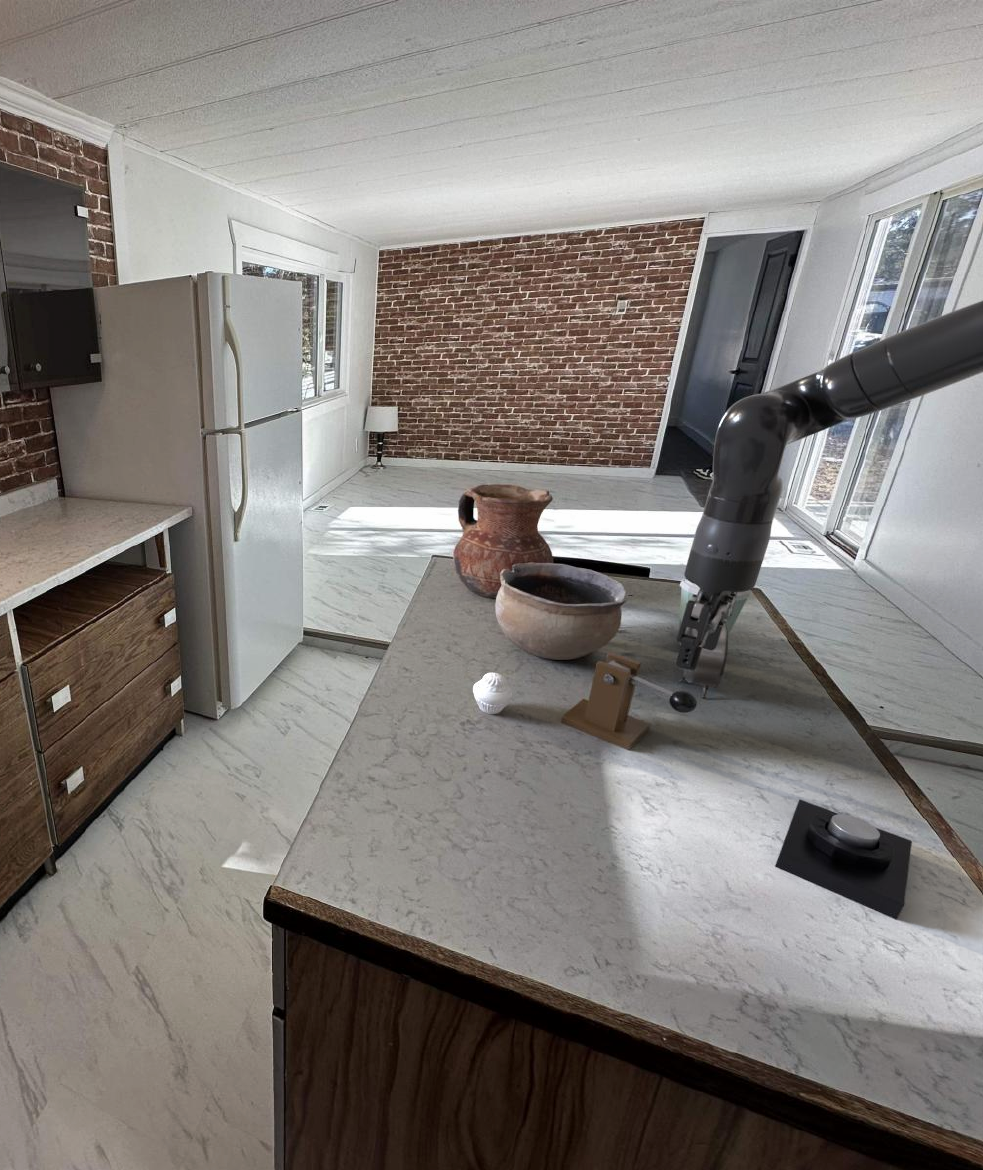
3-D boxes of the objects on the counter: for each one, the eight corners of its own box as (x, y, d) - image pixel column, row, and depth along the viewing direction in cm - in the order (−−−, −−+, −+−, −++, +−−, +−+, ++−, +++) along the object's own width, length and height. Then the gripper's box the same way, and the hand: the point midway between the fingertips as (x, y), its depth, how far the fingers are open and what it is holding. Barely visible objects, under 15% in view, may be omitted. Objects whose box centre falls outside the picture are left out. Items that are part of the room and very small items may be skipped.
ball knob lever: (694, 711, 91) (703, 694, 90) (687, 720, 90) (696, 702, 88) (607, 673, 100) (614, 656, 98) (599, 680, 98) (606, 663, 96)
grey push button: (829, 820, 76) (834, 809, 75) (876, 838, 73) (881, 826, 72) (824, 837, 73) (829, 826, 72) (872, 856, 70) (878, 844, 70)
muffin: (488, 696, 110) (493, 661, 108) (517, 713, 105) (523, 677, 103) (462, 705, 108) (467, 670, 105) (491, 723, 103) (497, 687, 100)
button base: (794, 812, 82) (803, 787, 80) (905, 854, 75) (917, 829, 73) (774, 866, 74) (785, 840, 72) (896, 920, 67) (910, 892, 65)
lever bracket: (648, 729, 99) (666, 665, 95) (628, 750, 95) (646, 683, 90) (582, 704, 107) (595, 643, 102) (560, 722, 102) (573, 659, 98)
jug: (545, 579, 158) (561, 482, 148) (550, 612, 140) (569, 504, 131) (452, 570, 167) (462, 478, 157) (446, 600, 149) (457, 498, 140)
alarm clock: (715, 704, 105) (742, 617, 99) (676, 696, 108) (700, 611, 101) (710, 675, 113) (735, 593, 107) (674, 668, 116) (695, 588, 110)
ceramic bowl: (492, 619, 139) (501, 555, 133) (606, 634, 129) (621, 567, 124) (487, 665, 120) (497, 593, 115) (619, 686, 111) (637, 610, 105)
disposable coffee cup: (741, 649, 121) (763, 578, 115) (719, 667, 116) (742, 593, 110) (678, 631, 129) (696, 563, 124) (655, 646, 124) (673, 577, 118)
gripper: (747, 570, 75) (711, 685, 81) (778, 543, 83) (743, 650, 89) (674, 555, 81) (646, 664, 87) (710, 531, 89) (681, 633, 95)
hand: (695, 657), depth 88 cm, fingers open, 8 cm apart
